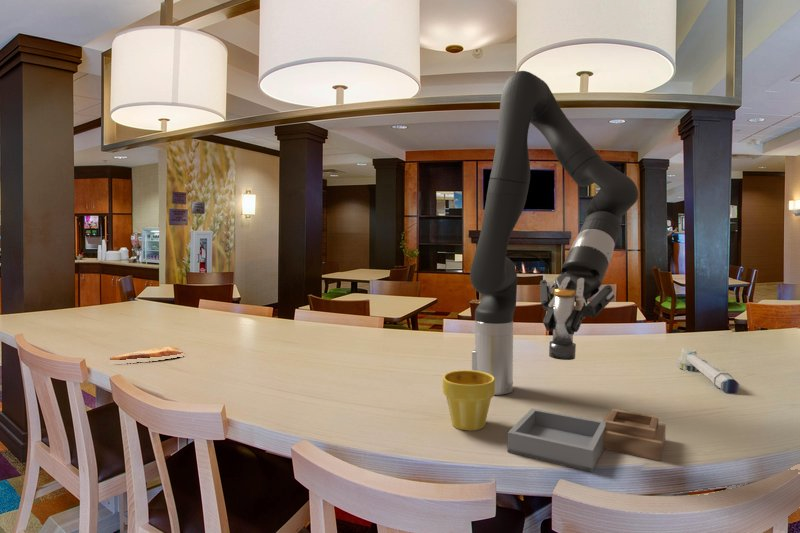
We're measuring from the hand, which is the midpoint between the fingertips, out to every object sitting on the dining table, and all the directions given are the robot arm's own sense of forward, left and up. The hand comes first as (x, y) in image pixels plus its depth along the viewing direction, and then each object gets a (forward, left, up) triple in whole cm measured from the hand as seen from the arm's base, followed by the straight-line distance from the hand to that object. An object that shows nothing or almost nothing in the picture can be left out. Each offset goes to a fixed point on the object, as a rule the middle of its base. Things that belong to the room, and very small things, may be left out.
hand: (558, 329), depth 83 cm
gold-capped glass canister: (0, +2, -5) cm, 6 cm away
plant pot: (-18, +2, -22) cm, 28 cm away
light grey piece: (+22, +64, -22) cm, 71 cm away
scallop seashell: (-128, -1, -22) cm, 129 cm away
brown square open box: (+11, +9, -21) cm, 26 cm away
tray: (0, +1, -21) cm, 21 cm away
